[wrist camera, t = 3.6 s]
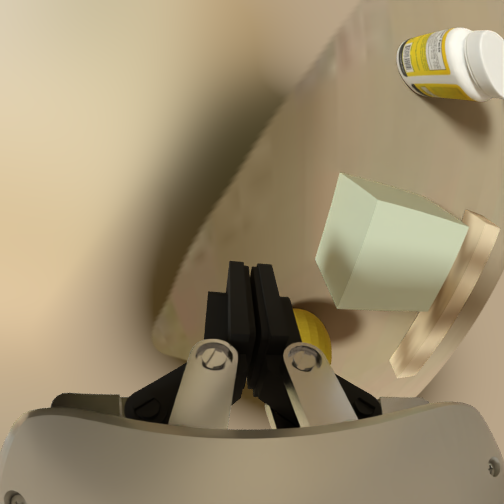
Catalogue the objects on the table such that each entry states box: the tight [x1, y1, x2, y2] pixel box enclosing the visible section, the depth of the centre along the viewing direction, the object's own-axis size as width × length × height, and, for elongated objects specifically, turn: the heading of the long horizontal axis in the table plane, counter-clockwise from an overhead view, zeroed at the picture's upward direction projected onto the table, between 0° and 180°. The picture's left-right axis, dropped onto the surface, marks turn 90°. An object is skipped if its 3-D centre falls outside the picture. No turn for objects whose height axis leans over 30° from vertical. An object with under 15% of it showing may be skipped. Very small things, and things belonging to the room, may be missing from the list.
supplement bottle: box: [397, 28, 504, 102], centre depth 10 cm, size 5×5×8 cm
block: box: [315, 172, 469, 312], centre depth 17 cm, size 7×8×6 cm
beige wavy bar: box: [389, 210, 500, 378], centre depth 23 cm, size 20×3×3 cm, turn 172°
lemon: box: [293, 309, 332, 365], centre depth 20 cm, size 6×6×8 cm
